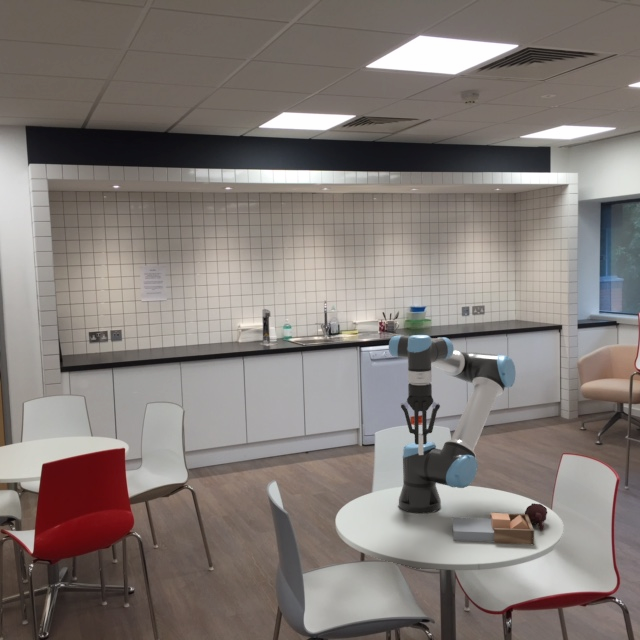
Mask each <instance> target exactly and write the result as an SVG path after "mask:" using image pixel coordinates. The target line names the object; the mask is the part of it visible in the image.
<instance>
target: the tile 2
mask: <svg viewBox="0 0 640 640" xmlns="http://www.w3.org/2000/svg"><path fill="white" fill-rule="evenodd" d="M510 529H529V528H528V525H527V523H526V521H525V520H524V519H523V518H522V517H521V515H519V516H517V517H516V518H515V519H513V520H512V521H511V522H510Z"/></svg>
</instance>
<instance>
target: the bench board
mask: <svg viewBox="0 0 640 640" xmlns="http://www.w3.org/2000/svg"><path fill="white" fill-rule="evenodd" d="M451 521H452V535H453V541H460V542H461V541H463V542H485V543H486V542H491V543H492V542H493V543H494V529H492V526H491V518H487V517H486V518H483V517H461V516H460V517H454V516H453V517H452V519H451Z"/></svg>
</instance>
